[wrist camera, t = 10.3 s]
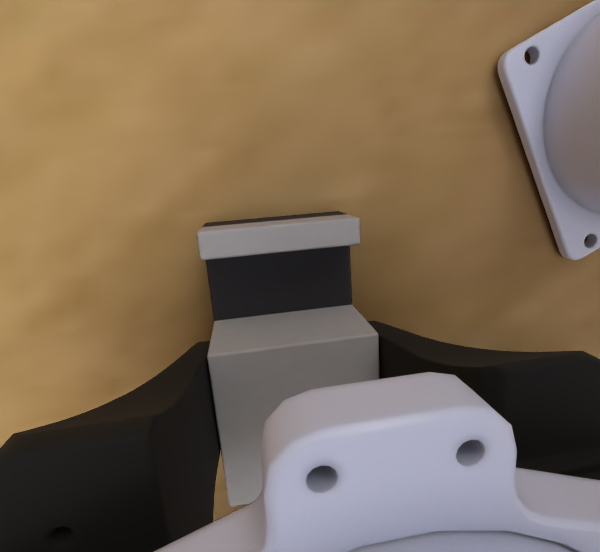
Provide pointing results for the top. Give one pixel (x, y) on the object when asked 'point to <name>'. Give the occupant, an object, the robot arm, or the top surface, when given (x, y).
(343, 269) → the slipper
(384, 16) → the top surface
